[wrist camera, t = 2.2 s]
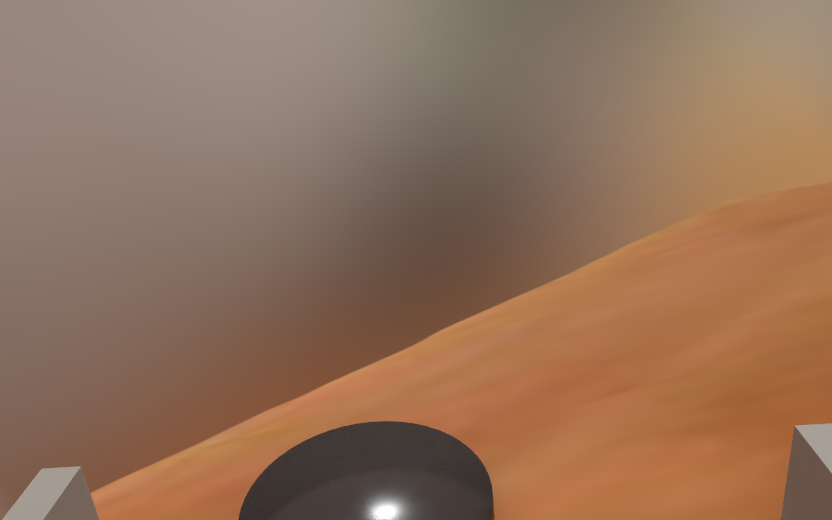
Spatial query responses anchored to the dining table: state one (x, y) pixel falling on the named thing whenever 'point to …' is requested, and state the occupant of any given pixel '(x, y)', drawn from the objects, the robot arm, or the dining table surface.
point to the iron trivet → (373, 477)
